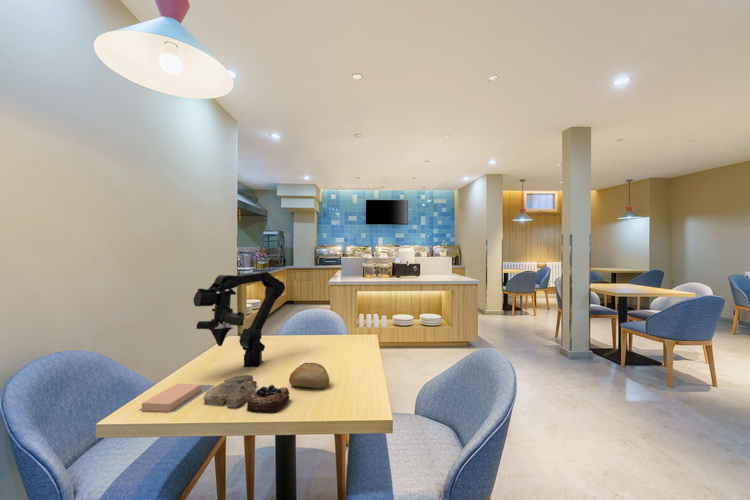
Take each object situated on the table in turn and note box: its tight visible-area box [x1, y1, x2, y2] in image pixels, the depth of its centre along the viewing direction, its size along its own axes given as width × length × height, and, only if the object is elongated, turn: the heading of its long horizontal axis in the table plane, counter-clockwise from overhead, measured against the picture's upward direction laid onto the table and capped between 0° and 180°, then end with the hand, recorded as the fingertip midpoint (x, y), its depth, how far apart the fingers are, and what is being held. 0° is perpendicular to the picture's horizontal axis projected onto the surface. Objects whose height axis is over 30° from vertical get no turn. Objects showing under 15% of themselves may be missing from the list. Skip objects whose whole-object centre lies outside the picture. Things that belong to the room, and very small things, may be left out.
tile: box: [141, 383, 202, 413], centre depth 103 cm, size 2×9×15 cm
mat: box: [139, 384, 215, 413], centre depth 106 cm, size 20×12×1 cm, turn 175°
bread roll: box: [288, 362, 330, 390], centre depth 115 cm, size 10×15×8 cm, turn 83°
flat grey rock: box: [202, 374, 258, 409], centre depth 108 cm, size 14×5×20 cm
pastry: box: [246, 384, 290, 415], centre depth 101 cm, size 11×12×6 cm
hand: (220, 345), depth 125 cm, fingers closed
